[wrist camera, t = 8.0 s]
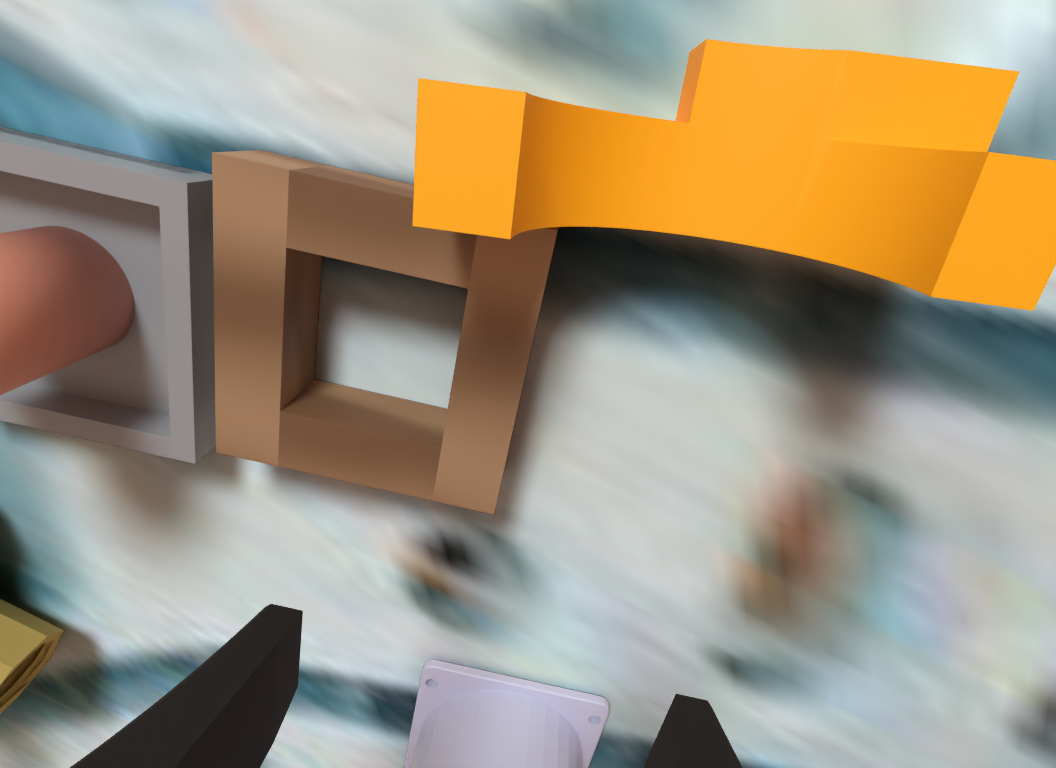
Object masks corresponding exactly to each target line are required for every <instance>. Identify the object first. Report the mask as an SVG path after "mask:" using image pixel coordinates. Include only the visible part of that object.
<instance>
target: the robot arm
mask: <svg viewBox="0 0 1056 768" xmlns="http://www.w3.org/2000/svg"><path fill="white" fill-rule="evenodd" d="M302 614H303V611H301V610H296V609H292V608H287V607H283V606H278V605H274V604H270V605H268V606H266V607H265V608H264V609H263V610H262V611H260V612H259V613H258V614H257V615H256V616H255V617H254V618H253V619H252V620H251V621H250V622H249V623H248V624H247V625H245V626H244V627H243V628H242V629H241V630H240V631H239V632H238V633H237V634H236V635H235V636H233V637H232V638H231V639H230V640H229V641H228V642H227V643H226V644H225V645H223V646H222V647H221V648H220V649H219V650H218V651H217V652H215V653H214V654H213V655H212V656H211V657H210V658H209V659H207V660H206V661H205V662H204V663H203V664H202V665H201V666H199V667H198V668H197V669H196V670H195V671H193V672H192V673H191V674H190V675H189V676H187V677H186V678H185V679H184V680H183V681H181V682H180V683H179V684H178V685H177V686H175V687H174V688H173V689H172V690H171V691H170V692H168V693H167V694H166V695H165V696H164V697H162V698H161V699H160V700H159V701H157V702H156V703H155V704H154V705H152V706H151V707H150V708H148V709H147V710H146V711H145V712H143V713H142V714H141V715H139V716H138V717H137V718H136V719H134V720H133V721H132V722H130V723H129V724H128V725H126V726H125V727H124V728H123V729H121V730H120V731H119V732H117V733H116V734H115V735H114V736H112V737H111V738H110V739H108V740H107V741H106V742H104V743H103V744H102V745H100V746H99V747H98V748H96V749H95V750H94V751H92V752H91V753H89V754H88V755H87V756H85V757H84V758H83V759H81V760H80V761H78V762H77V763H76V764H74V765H73V766H71V767H70V768H260V766H261V764H262V763H263V761H264V759H265V757H266V755H267V753H268V752H269V750H270V748H271V746H272V744H273V742H274V740H275V737H276V735H277V733H278V731H279V728H280V726H281V724H282V722H283V719H284V717H285V715H286V713H287V710H288V708H289V705H290V703H291V701H292V698H293V696H294V694H295V691H296V689H297V687H298V674H299V659H300V644H301V629H302ZM431 679H433V680H431ZM609 711H610V709H609V702H608V700H606V699H605V698H603V697H601V696H597V695H592V694H588V693H583V692H579V691H574V690H570V689H565V688H561V687H556V686H552V685H547V684H543V683H538V682H534V681H529V680H525V679H520V678H516V677H511V676H507V675H502V674H498V673H493V672H489V671H484V670H480V669H475V668H470V667H466V666H461V665H457V664H452V663H448V662H443V661H439V660H430V661H427V662H426V663H425V664H424V666H423V670H422V674H421V679H420V684H419V690H418V695H417V700H416V706H415V711H414V716H413V722H412V727H411V732H410V738H409V743H408V748H407V754H406V759H405V764H404V768H588V767H589V764H590V762H591V759H592V757H593V754H594V752H595V749H596V746H597V744H598V741H599V739H600V736H601V734H602V731H603V728H604V726H605V723H606V721H607V718H608V716H609ZM645 768H742V766H741V764H740V762H739V760H738V758H737V756H736V754H735V752H734V750H733V748H732V746H731V744H730V742H729V740H728V739H727V737H726V735H725V733H724V731H723V729H722V727H721V725H720V723H719V721H718V719H717V717H716V715H715V713H714V711H713V709H712V707H711V705H710V704H709V702H708V701H707V700H702V699H698V698H693V697H689V696H684V695H679V694H676V695H675V697H674V700H673V702H672V704H671V706H670V709H669V711H668V713H667V715H666V717H665V720H664V722H663V724H662V726H661V729H660V731H659V733H658V735H657V738H656V740H655V742H654V744H653V747H652V749H651V751H650V753H649V755H648V758H647V760H646V762H645Z"/></svg>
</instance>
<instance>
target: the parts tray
mask: <svg viewBox="0 0 1056 768" xmlns="http://www.w3.org/2000/svg"><path fill="white" fill-rule="evenodd" d="M42 226H62V227H67V228H70V229H74V230H76V231H79V232H81V233H83V234H85V235H87V236H89V237H90V238H92V239H93V240H95V241H96V242H98V243H99V244H100V245H101V246H103V247H104V248H105V249H106V250H107V251H108V252H109V253H110V254H111V255H112V256H113V257H114V259H115V260H116V261H117V262H118V264H119V265H120V267H121V268H122V270H123V271H124V273H125V275H126V277H127V279H128V281H129V284H130V286H131V289H132V293H133V298H134V317H133V322H132V325H131V327H130V329H129V331H128V333H127V334H126V335H125V337H124V338H123V339H122V340H120V341H119V342H118V343H116V344H115V345H113V346H111V347H108V348H106V349H104V350H101V351H99V352H97V353H95V354H92V355H90V356H88V357H86V358H83V359H81V360H79V361H77V362H74V363H72V364H70V365H68V366H65V367H63V368H61V369H59V370H56V371H54V372H52V373H50V374H47V375H45V376H43V377H41V378H38V379H36V380H34V381H32V382H29V383H27V384H25V385H23V386H20V387H18V388H16V389H14V390H11V391H9V392H7V393H4V394H2V395H0V420H1V421H5V422H10V423H14V424H19V425H23V426H28V427H32V428H37V429H41V430H46V431H50V432H55V433H59V434H64V435H68V436H73V437H77V438H82V439H86V440H91V441H95V442H99V443H104V444H108V445H113V446H117V447H122V448H126V449H131V450H135V451H140V452H144V453H149V454H153V455H158V456H162V457H167V458H171V459H176V460H180V461H185V462H189V463H194V464H196V463H197V462H198V461H199V460H200V459H202V458H203V457H204V456H205V455H206V454H207V453H209V452H210V451H211V450H212V449H213V448H214V447H216V422H215V342H214V262H213V182H212V174H209V173H204V172H200V171H195V170H191V169H187V168H182V167H178V166H173V165H169V164H164V163H160V162H156V161H151V160H147V159H142V158H138V157H134V156H129V155H125V154H120V153H116V152H111V151H107V150H103V149H98V148H94V147H89V146H85V145H81V144H76V143H72V142H67V141H63V140H58V139H54V138H50V137H45V136H41V135H36V134H32V133H28V132H23V131H19V130H14V129H10V128H5V127H1V126H0V233H5V232H11V231H17V230H23V229H29V228H35V227H42Z"/></svg>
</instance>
